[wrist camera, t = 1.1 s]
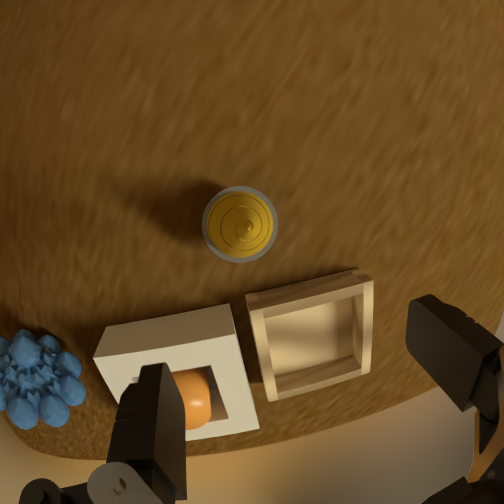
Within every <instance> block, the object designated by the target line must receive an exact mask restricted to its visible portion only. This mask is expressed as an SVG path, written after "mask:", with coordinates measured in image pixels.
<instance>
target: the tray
mask: <svg viewBox="0 0 504 504" xmlns="http://www.w3.org/2000/svg"><path fill="white" fill-rule="evenodd" d="M245 298H246V303H247V308H248V313H249V317H250V322H251V327H252V332H253V337H254V341H255V346H256V351H257V356H258V361H259V365H260V370H261V375H262V379H263V384H264V387H265V391H266V394H267V398H268V402H271V401H275V400H279V399H283V398H287V397H291V396H295V395H298V394H302V393H306V392H309V391H313V390H316V389H320V388H323V387H326V386H329V385H333V384H336V383H339V382H342V381H345V380H348V379H351V378H354V377H357V376H360V375H363V374H366V373H369V372H370V362H371V346H372V326H373V280H372V279H371V278H370V277H369V276H368V275H367V274H365V273H364V272H363V271H362V270H361V269H359V268H356V269H352V270H348V271H344V272H340V273H336V274H332V275H328V276H324V277H319V278H315V279H311V280H307V281H303V282H299V283H294V284H290V285H286V286H281V287H277V288H273V289H268V290H264V291H259V292H255V293H250V294H246V295H245Z"/></svg>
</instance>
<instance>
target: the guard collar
mask: <svg viewBox="0 0 504 504" xmlns="http://www.w3.org/2000/svg"><path fill="white" fill-rule="evenodd" d="M93 360H94V361H95V363H96V365H97V367H98V369H99V371H100V373H101V375H102V376H103V378H104V380H105V382H106V384H107V385H108V387H109V389H110V391H111V392H112V394H113V396H114V398H115V399H116V401H117V403H118V404H119V401H120V397H121V395H122V393H123V392H124V390H125V389H126V388H127V386H128V385H129V384H130V383H138V379H139V374H140V370H141V367H142V366H143V365H149V364H156V363H162V362H166V363H167V364H168V366H169V368H170V371H171V372H174V371H180V370H186V369H192V368H197V367H203V368H204V369H205V370H206V372H207V374H208V377H209V391H210V405H211V417H210V419H209V421H208V422H207V423H206V424H205V425H203V426H201V427H199V428H197V429H193V430H186V441H189V440H196V439H204V438H210V437H217V436H223V435H228V434H234V433H239V432H244V431H249V430H254V429H259V424H258V420H257V415H256V411H255V407H254V402H253V398H252V394H251V390H250V386H249V382H248V378H247V374H246V370H245V366H244V362H243V358H242V354H241V350H240V346H239V342H238V337H237V333H236V329H235V325H234V321H233V316H232V312H231V308H230V304H229V303H228V304H223V305H218V306H214V307H209V308H204V309H199V310H194V311H189V312H184V313H179V314H174V315H168V316H163V317H158V318H153V319H147V320H142V321H136V322H130V323H125V324H119V325H113V326H107V327H106V329H105V331H104V333H103V336H102V338H101V340H100V342H99V345H98V347H97V349H96V352H95V354H94V356H93Z"/></svg>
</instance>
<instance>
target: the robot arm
mask: <svg viewBox="0 0 504 504" xmlns="http://www.w3.org/2000/svg"><path fill="white" fill-rule="evenodd" d="M406 345H407V348H408V351H409V352H410V354H411V355H412V356H413V357H414V358H415V359H416V360H417V362H418V363H419V364H420V365H421V366H422V367H423V368H424V369H425V370H426V371H427V373H428V374H429V375H430V376H431V377H432V378H433V379H434V380H435V382H436V383H437V384H438V385H439V386H440V387H441V388H442V389H443V391H444V392H445V393H446V394H447V395H448V396H449V397H450V398H451V400H452V401H453V402H454V403H455V404H456V405H457V406H458V408H459V409H460V410H461V411H462V412H464V411H466V410H468V409H469V408H471V407H472V406H475V407H476V408H477V410H476V413H475V435H474V455H473V463H472V466H471V469H470V472H469V474H468V477H467V480H466V479H465V477H462V478H460V479H459V480H457V481H456V482H454V483H453V484H451V485H449V486H448V487H446V488H444V489H443V490H441V491H439V492H437V493H436V494H434V495H432V496H430V497H429V498H428V499H427V500H425V501H424V502H423V503H422V504H504V343H503V342H501V341H500V340H499V339H498V338H496V337H495V336H494V335H493V334H491V333H490V332H489V331H488V330H486V329H485V328H484V327H482V326H481V325H480V324H479V323H476V321H475V320H473V319H472V318H471V317H468V315H467V314H465V313H464V312H463V311H461V310H460V309H459V308H457V307H454V306H451V305H449V304H446V303H443V302H442V301H440V300H439V299H438V298H436V297H435V296H434V295H432V294H428V295H425V296H423V297H420V298H417V299H414V300H412V301H411V302H410V304H409V308H408V319H407V329H406ZM115 420H116V422H115V423H114V427H113V432H112V437H111V441H110V446H109V451H108V457H107V461H106V464H103V465H101V466H99V467H98V468H96V470H95V471H93V473H92V474H91V475H90V477H89V479H88V482H86V483H83V484H79V485H74V486H70V487H65V488H59V487H58V486H57V485H56V484H55V483H54V482H52V481H51V480H48V479H44V478H40V479H36V480H33V481H31V482H30V483H28V484H27V485H26V486H25V487H24V489H23V490H22V493H21V496H20V500H19V504H175V501H176V500H187V487H186V415H185V406H184V402H183V399H182V396H181V394H180V392H179V389H178V387H177V385H176V382H175V380H174V378H173V376H172V373H171V371H170V368H169V366H168V364H167V363H166V362H162V363H156V364H149V365H143V366H142V367H141V370H140V374H139V379H138V383H130V384H129V385H128V386H127V388H126V389H125V390H124V392H123V393H122V395H121V397H120V401H119V405H118V411H117V414H116V418H115Z"/></svg>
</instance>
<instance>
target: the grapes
mask: <svg viewBox="0 0 504 504" xmlns="http://www.w3.org/2000/svg"><path fill="white" fill-rule="evenodd" d="M80 374H81V364H80V362H79V360H78V358H77V357H75V356H74V355H73V354H72V353H70V352H67V351H65V352H62V347H61V345H60V343H59V341H58V340H57V339H56V338H54V337H53V336H50V335H43V336H42V337H40V338H39V340H38V342H36V339H35V337H34V336H33V335H32V334H31V332H29V331H27V330H25V329H21V330H19V331H18V332H16V334H15V335H14V337H13V343H12V342H11V341H10V340H9V339H7V338H5V337H3V336H0V411H4V410H6V409H7V414H8V416H9V418H10V420H11V422H12V423H14V424H15V425H16V426H17V427H19V428H22V429H26V430H28V429H30V428H32V427H34V426H35V425H36V423H37V421H38V413H39V415H40V417H41V419H42V420H43V421H44V422H45V423H46V424H48V425H50V426H54V427H60V426H62V425H64V424H66V423H67V421H68V419H69V409H68V407H67V405H70V406H77V405H79V404H81V403H83V401H84V400H85V398H86V389H85V387H84V385H83V383H82V382H81V381H80V380H79V379H78V377H79V375H80Z"/></svg>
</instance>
